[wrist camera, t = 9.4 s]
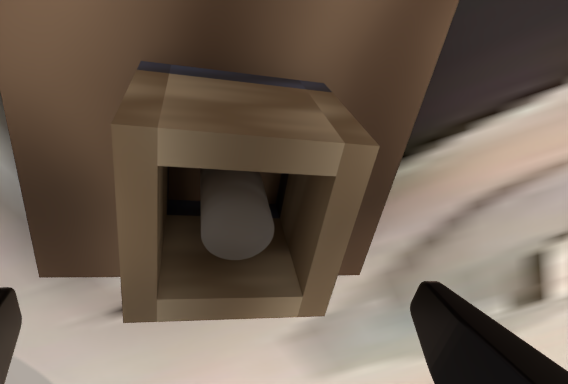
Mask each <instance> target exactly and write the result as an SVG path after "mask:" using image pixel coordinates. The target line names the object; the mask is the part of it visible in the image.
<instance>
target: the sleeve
mask: <svg viewBox="0 0 568 384" xmlns="http://www.w3.org/2000/svg"><path fill="white" fill-rule="evenodd" d="M111 132H112V148H113V164H114V180H115V196H116V213H117V229H118V245H119V261H120V277H121V293H122V309H123V323H135V322H165V321H194V320H224V319H253V318H283V317H312V316H325V313H326V310H327V307H328V304H329V300H330V297H331V294H332V291H333V288H334V285H335V282H336V279H337V276H338V273H339V270H340V267H341V264H342V261H343V258H344V255H345V251H346V248H347V245H348V242H349V239H350V236H351V233H352V230H353V227H354V224H355V221H356V218H357V215H358V212H359V209H360V205H361V202H362V199H363V196H364V193H365V190H366V187H367V184H368V181H369V178H370V175H371V172H372V169H373V166H374V163H375V160H376V156H377V153H378V150H379V147H380V146H379V145H378V144H377V142H376V141H375V140H374V139H373V138H372V137H371V136H370V135H369V133H368V132H367V131H366V130H365V129H364V128H363V127H362V125H361V124H360V123H359V122H358V121H357V120H356V119H355V118H354V116H353V115H352V114H351V113H350V112H349V111H348V110H347V109H346V107H345V106H344V105H343V104H342V103H341V102H340V101H339V99H338V98H337V97H336V96H335V95H334V94H333V93H332V92H331V90H330V89H329V88H328V87H327V86H326V85H325V84H324V83H318V82H310V81H302V80H294V79H286V78H277V77H269V76H261V75H253V74H245V73H237V72H228V71H220V70H212V69H204V68H196V67H187V66H179V65H171V64H163V63H155V62H146V61H141V62H140V64H139V66H138V68H137V70H136V72H135V74H134V76H133V79H132V81H131V83H130V85H129V87H128V89H127V91H126V93H125V95H124V98H123V100H122V102H121V104H120V106H119V108H118V110H117V112H116V114H115V117H114V119H113V121H112V123H111ZM169 166H170V167H187V168H203V169H220V170H237V171H253V172H270V173H281V178H280V183H279V188H278V194H277V199H276V204H269V207H270V211H271V215H272V219H273V222H274V235H273V238H272V240H271V242H270V244H269V245H268V246H267V247H266V248H265V249H264V250H263V251H262V252H260V253H259V254H257V255H255V256H253V257H250V258H247V259H243V260H227V259H222V258H219V257H217V256H215V255H213V254H212V253H210V252H209V251H208V250H207V249H206V247H205V246H204V244H203V242H202V239H201V201H189V200H168V194H169Z"/></svg>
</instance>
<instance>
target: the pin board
mask: <svg viewBox="0 0 568 384" xmlns="http://www.w3.org/2000/svg"><path fill="white" fill-rule="evenodd" d="M458 2H459V0H0V92H1V97H2V101H3V106H4V111H5V116H6V120H7V125H8V130H9V135H10V139H11V144H12V149H13V154H14V159H15V163H16V168H17V173H18V178H19V182H20V187H21V192H22V197H23V202H24V206H25V211H26V216H27V221H28V225H29V230H30V235H31V240H32V244H33V249H34V254H35V259H36V264H37V268H38V273H39V277H120V261H119V245H118V229H117V213H116V196H115V180H114V164H113V148H112V132H111V123H112V121H113V119H114V117H115V114H116V112H117V110H118V108H119V106H120V104H121V102H122V100H123V98H124V95H125V93H126V91H127V89H128V87H129V85H130V83H131V81H132V79H133V76H134V74H135V72H136V70H137V68H138V66H139V64H140V62H141V61H146V62H155V63H163V64H171V65H179V66H187V67H196V68H204V69H212V70H220V71H228V72H237V73H245V74H253V75H261V76H269V77H277V78H286V79H294V80H302V81H310V82H318V83H324V84H325V85H326V86H327V87H328V88H329V89H330V90H331V92H332V93H333V94H334V95H335V96H336V97H337V98H338V99H339V101H340V102H341V103H342V104H343V105H344V106H345V107H346V109H347V110H348V111H349V112H350V113H351V114H352V115H353V116H354V118H355V119H356V120H357V121H358V122H359V123H360V124H361V125H362V127H363V128H364V129H365V130H366V131H367V132H368V133H369V135H370V136H371V137H372V138H373V139H374V140H375V141H376V142H377V144H378V145H379V146H380V147H379V150H378V153H377V156H376V160H375V163H374V166H373V169H372V172H371V175H370V178H369V181H368V184H367V187H366V190H365V193H364V196H363V199H362V202H361V205H360V209H359V212H358V215H357V218H356V221H355V224H354V227H353V230H352V233H351V236H350V239H349V242H348V245H347V248H346V251H345V255H344V258H343V261H342V264H341V267H340V270H339V273H338V275H360V272H361V269H362V266H363V264H364V261H365V258H366V255H367V253H368V250H369V247H370V244H371V242H372V239H373V236H374V233H375V231H376V228H377V225H378V222H379V220H380V217H381V214H382V211H383V209H384V206H385V203H386V200H387V198H388V195H389V192H390V189H391V187H392V184H393V181H394V178H395V176H396V173H397V170H398V167H399V165H400V162H401V159H402V156H403V154H404V151H405V148H406V145H407V143H408V140H409V137H410V134H411V132H412V129H413V126H414V123H415V121H416V118H417V115H418V112H419V110H420V107H421V104H422V101H423V99H424V96H425V93H426V90H427V87H428V85H429V82H430V79H431V76H432V74H433V71H434V68H435V65H436V63H437V60H438V57H439V54H440V52H441V49H442V46H443V43H444V41H445V38H446V35H447V32H448V30H449V27H450V24H451V21H452V19H453V16H454V13H455V10H456V8H457V5H458ZM280 178H281V173H270V172H253V171H237V170H220V169H203V168H187V167H170V166H169V194H168V200H189V201H201V239H202V242H203V244H204V246H205V247H206V249H207V250H208V251H209V252H210V253H212V254H213V255H215V256H217V257H219V258H222V259H227V260H243V259H247V258H250V257H253V256H255V255H257V254H259V253H260V252H262V251H263V250H264V249H265V248H266V247H267V246H268V245H269V244H270V242H271V240H272V238H273V235H274V222H273V219H272V215H271V211H270V207H269V204H276V199H277V194H278V188H279V183H280Z"/></svg>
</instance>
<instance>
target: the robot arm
mask: <svg viewBox="0 0 568 384" xmlns="http://www.w3.org/2000/svg"><path fill="white" fill-rule="evenodd" d="M410 312H411V316H412V319H413V322H414V325H415V328H416V331H417V335H418V338H419V341H420V344H421V347H422V350H423V353H424V356H425V360H426V363H427V365H428V368H429V371H430V374H431V376H432V379H433V381H434V383H435V384H568V371H566V370H565V369H564V368H562V367H561V366H559V365H558V364H556V363H555V362H554V361H552V360H551V359H549V358H548V357H546V356H545V355H544V354H542V353H541V352H539V351H538V350H536V349H535V348H533V347H532V346H531V345H529V344H528V343H526V342H525V341H523V340H522V339H521V338H519V337H518V336H516V335H515V334H513V333H512V332H510V331H509V330H508V329H506V328H505V327H503V326H502V325H500V324H499V323H498V322H496V321H495V320H493V319H492V318H490V317H489V316H487V315H486V314H485V313H483V312H482V311H480V310H479V309H477V308H476V307H475V306H473V305H472V304H470V303H469V302H467V301H466V300H464V299H463V298H462V297H460V296H459V295H457V294H456V293H454V292H453V291H452V290H450V289H449V288H447V287H446V286H444V285H443V284H441V283H440V282H437V281H424V282H422V283H421V284H420V285H419V287H418V289H417V291H416V293H415V296H414V298H413V300H412V302H411V305H410ZM21 323H22V316H21V312H20V308H19V304H18V300H17V296H16V293H15V291H14V289H12V288H9V287H3V288H0V384H4V383H5V380H6V376H7V373H8V369H9V366H10V363H11V359H12V356H13V352H14V349H15V346H16V342H17V339H18V335H19V332H20V328H21Z"/></svg>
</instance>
